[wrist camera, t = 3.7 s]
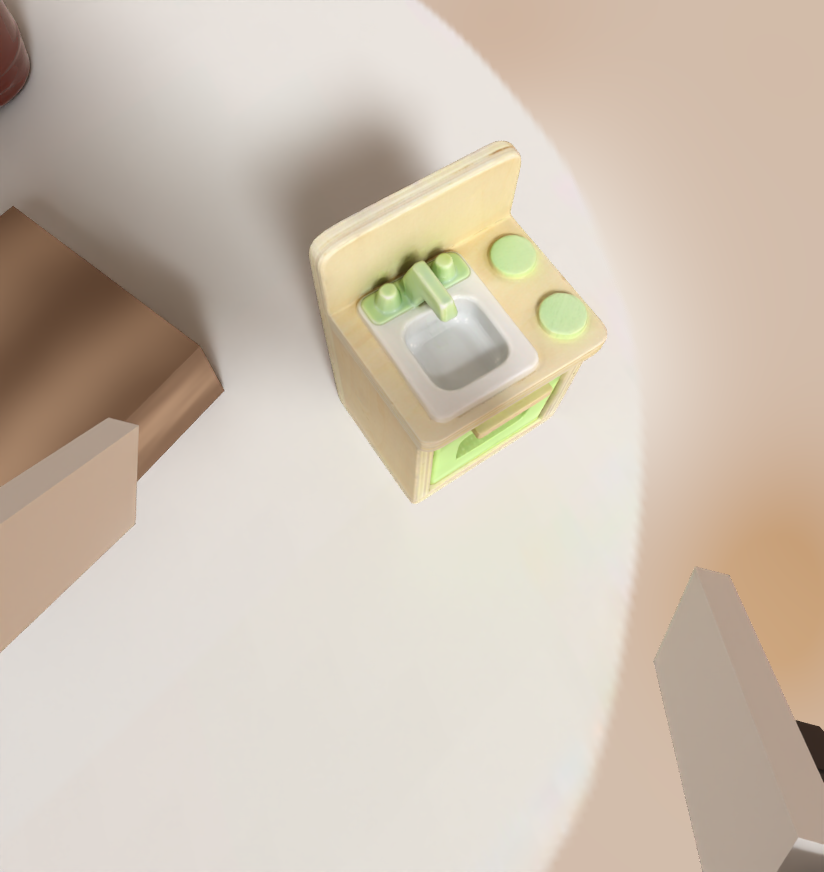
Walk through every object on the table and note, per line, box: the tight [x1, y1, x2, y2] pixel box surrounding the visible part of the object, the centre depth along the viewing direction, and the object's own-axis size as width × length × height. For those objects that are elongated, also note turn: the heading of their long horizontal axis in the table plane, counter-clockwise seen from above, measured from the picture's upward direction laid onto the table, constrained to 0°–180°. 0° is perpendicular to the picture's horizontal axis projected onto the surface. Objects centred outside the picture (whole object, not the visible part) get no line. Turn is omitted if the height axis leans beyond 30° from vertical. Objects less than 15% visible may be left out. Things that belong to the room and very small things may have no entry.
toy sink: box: [309, 141, 607, 504], centre depth 28 cm, size 8×7×13 cm
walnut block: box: [0, 206, 224, 487], centre depth 32 cm, size 12×12×5 cm
